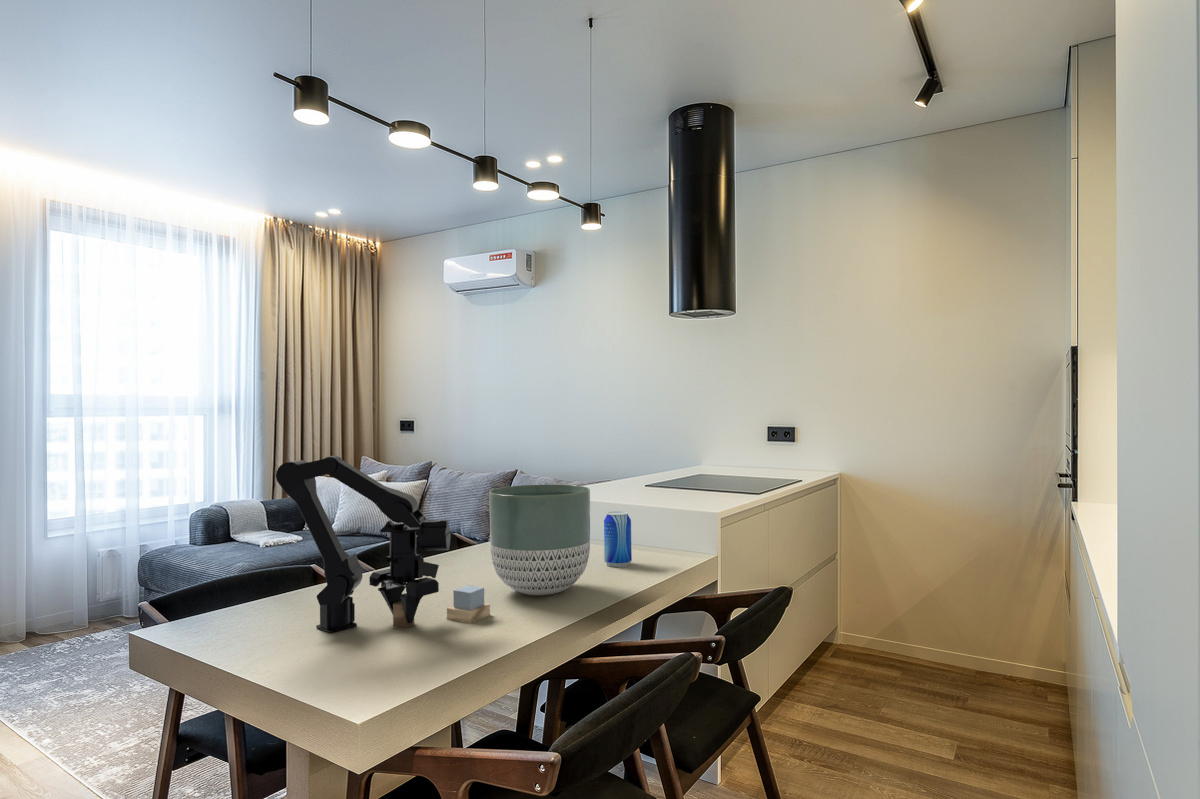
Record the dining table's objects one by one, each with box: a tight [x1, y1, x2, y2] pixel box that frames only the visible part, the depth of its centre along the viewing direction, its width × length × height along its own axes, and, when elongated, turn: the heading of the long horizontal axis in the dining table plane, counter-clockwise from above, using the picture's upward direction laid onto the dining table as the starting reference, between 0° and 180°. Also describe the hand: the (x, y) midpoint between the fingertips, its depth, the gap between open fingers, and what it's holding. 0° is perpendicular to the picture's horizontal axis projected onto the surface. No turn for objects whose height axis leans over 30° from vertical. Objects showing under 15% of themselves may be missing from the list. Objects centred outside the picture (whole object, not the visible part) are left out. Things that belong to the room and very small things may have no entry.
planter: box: [488, 483, 591, 596], centre depth 181 cm, size 27×27×27 cm
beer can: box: [603, 510, 633, 568], centre depth 211 cm, size 8×8×16 cm
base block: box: [446, 602, 491, 624], centre depth 159 cm, size 7×7×3 cm
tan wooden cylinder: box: [392, 601, 415, 630], centre depth 154 cm, size 5×5×5 cm
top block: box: [453, 585, 485, 610], centre depth 159 cm, size 5×5×4 cm
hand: (403, 620), depth 154 cm, fingers closed on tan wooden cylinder, 5 cm apart
